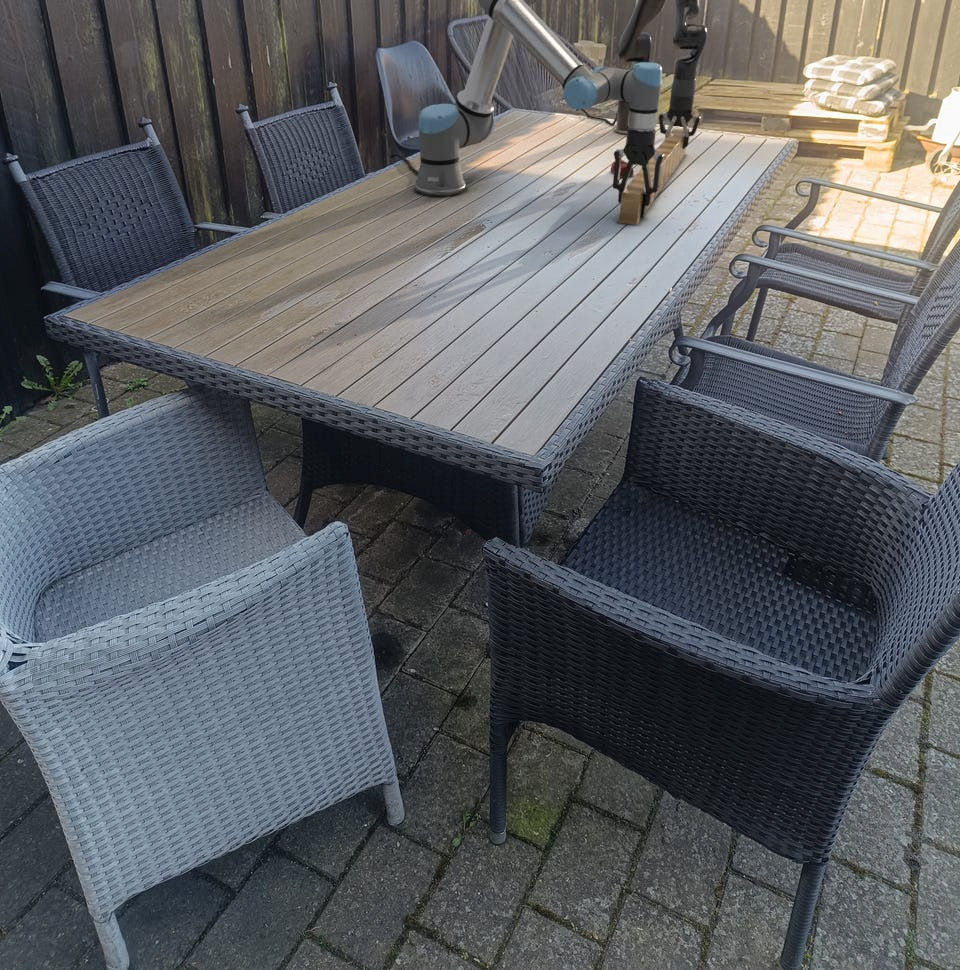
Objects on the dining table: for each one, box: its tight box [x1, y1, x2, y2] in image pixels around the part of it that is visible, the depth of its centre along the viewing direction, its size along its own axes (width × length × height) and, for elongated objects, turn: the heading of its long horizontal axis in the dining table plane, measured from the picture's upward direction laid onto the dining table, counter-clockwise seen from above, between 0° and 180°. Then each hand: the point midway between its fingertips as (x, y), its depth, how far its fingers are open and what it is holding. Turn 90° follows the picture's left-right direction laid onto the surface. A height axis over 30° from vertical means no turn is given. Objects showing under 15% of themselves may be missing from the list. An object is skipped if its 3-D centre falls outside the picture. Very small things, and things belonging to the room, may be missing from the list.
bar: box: [618, 128, 687, 226], centre depth 260 cm, size 78×5×8 cm, turn 159°
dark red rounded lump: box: [610, 159, 634, 177], centre depth 271 cm, size 6×4×8 cm
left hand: (632, 215), depth 237 cm, fingers closed on bar, 5 cm apart
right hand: (675, 147), depth 285 cm, fingers closed on bar, 5 cm apart
